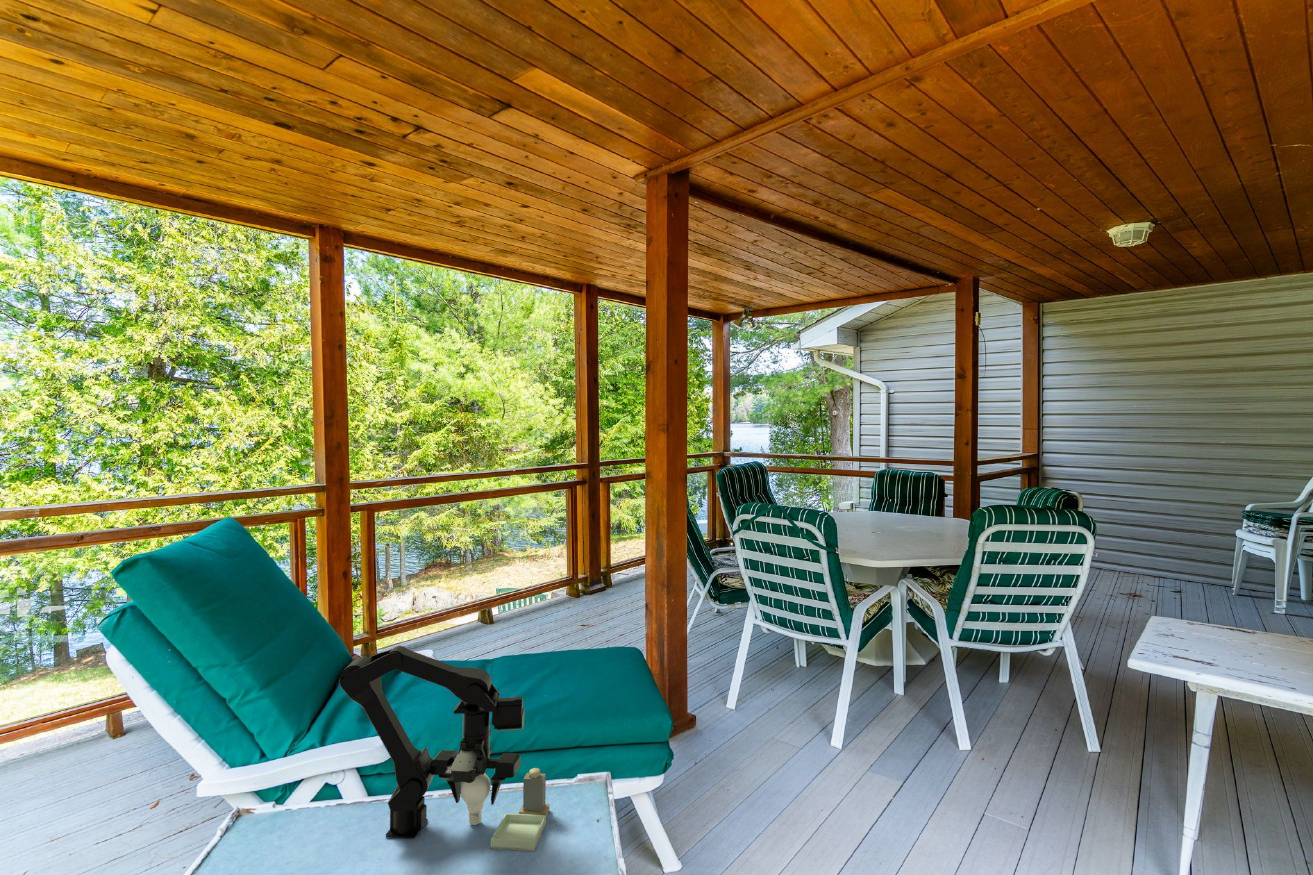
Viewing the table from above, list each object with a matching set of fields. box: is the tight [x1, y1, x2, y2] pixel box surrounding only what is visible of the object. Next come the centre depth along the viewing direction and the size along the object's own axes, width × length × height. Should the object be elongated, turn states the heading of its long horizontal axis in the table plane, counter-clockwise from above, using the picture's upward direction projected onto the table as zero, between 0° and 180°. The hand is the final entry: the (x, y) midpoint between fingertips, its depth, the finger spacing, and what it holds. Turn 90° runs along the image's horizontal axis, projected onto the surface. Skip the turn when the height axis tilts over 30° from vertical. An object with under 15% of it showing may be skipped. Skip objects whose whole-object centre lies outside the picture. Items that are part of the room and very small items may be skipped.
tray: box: [490, 813, 547, 852], centre depth 127 cm, size 9×9×2 cm
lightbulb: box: [460, 772, 492, 826], centre depth 132 cm, size 6×6×11 cm
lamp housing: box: [518, 767, 550, 818], centre depth 136 cm, size 6×4×10 cm, turn 86°
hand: (475, 802), depth 132 cm, fingers open, 8 cm apart
